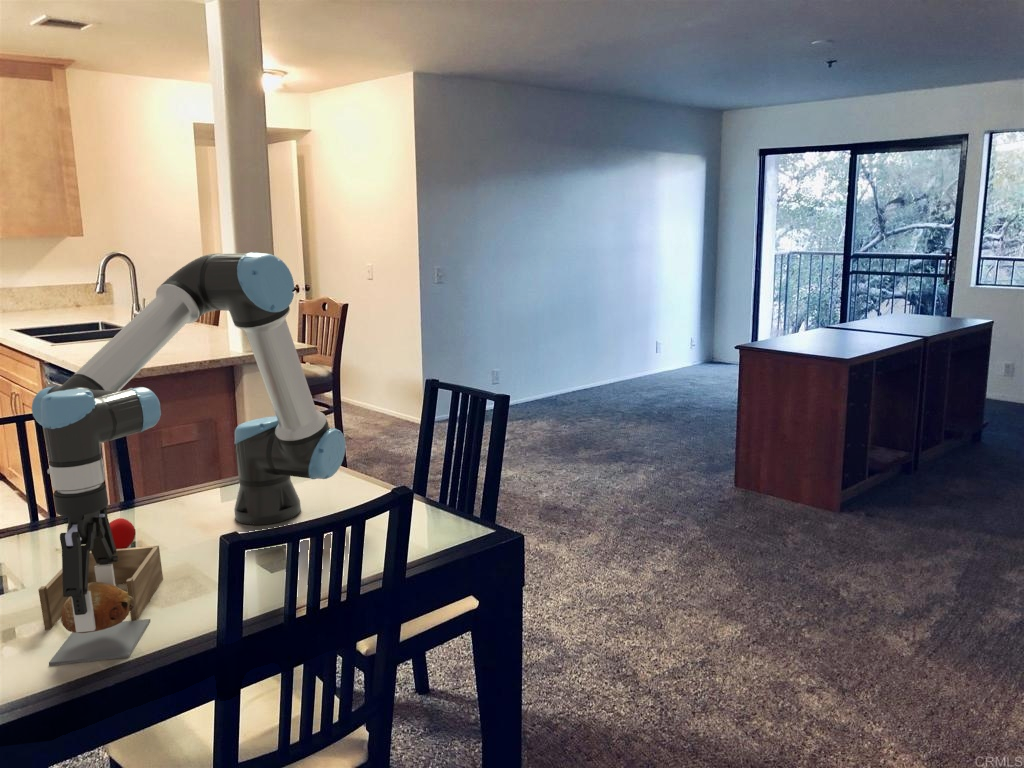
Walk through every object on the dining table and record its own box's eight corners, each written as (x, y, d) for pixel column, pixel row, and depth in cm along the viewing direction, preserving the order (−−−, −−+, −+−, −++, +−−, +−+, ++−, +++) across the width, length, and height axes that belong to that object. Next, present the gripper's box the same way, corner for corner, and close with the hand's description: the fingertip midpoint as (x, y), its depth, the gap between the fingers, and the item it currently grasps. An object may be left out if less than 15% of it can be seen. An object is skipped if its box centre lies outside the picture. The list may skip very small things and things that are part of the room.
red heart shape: (89, 579, 158) (82, 531, 156) (89, 566, 165) (82, 520, 163) (140, 568, 163) (134, 522, 161) (138, 556, 169) (132, 511, 167)
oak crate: (163, 578, 157) (158, 542, 156) (136, 621, 141) (130, 581, 139) (82, 586, 155) (76, 549, 154) (44, 630, 138) (38, 589, 137)
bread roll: (94, 625, 138) (68, 588, 136) (147, 598, 138) (121, 560, 136) (68, 655, 128) (39, 615, 127) (124, 626, 128) (96, 585, 127)
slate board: (150, 621, 140) (149, 618, 140) (128, 657, 129) (128, 654, 129) (77, 628, 139) (77, 626, 139) (49, 665, 127) (48, 662, 127)
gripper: (80, 468, 139) (97, 587, 143) (23, 512, 117) (45, 652, 121) (126, 464, 140) (141, 583, 144) (78, 508, 118) (98, 646, 122)
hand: (97, 615), depth 133 cm, fingers closed on bread roll, 10 cm apart
